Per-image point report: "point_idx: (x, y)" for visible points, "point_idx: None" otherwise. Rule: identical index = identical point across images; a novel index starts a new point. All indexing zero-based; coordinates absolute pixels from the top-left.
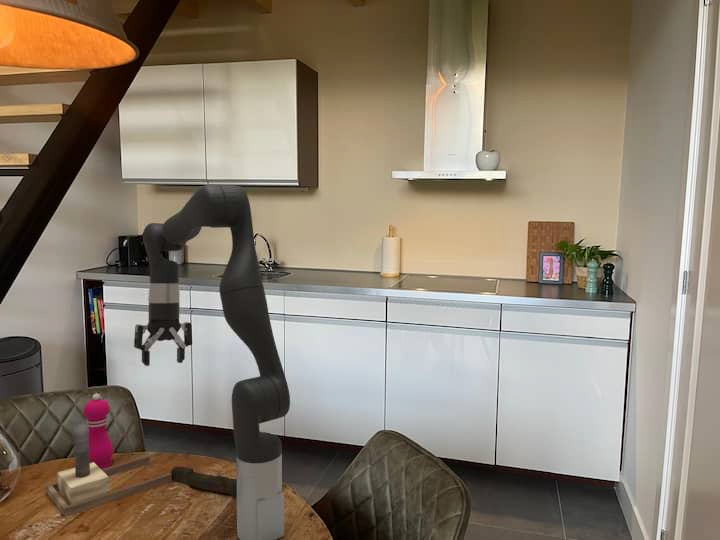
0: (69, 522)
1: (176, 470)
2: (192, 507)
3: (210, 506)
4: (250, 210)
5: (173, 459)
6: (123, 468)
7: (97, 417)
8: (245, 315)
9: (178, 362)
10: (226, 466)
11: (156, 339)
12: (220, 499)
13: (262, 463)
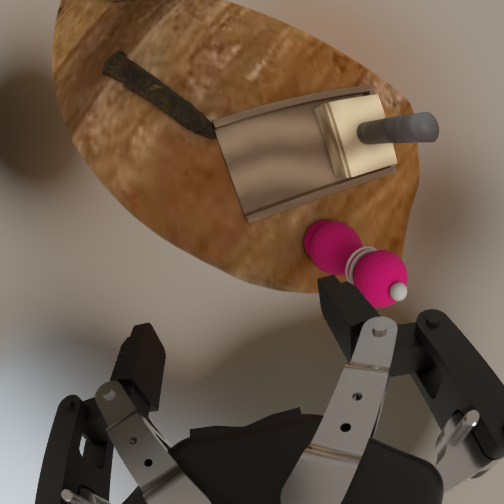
0: (357, 85)
1: (203, 116)
2: (190, 47)
3: (164, 43)
4: None
5: (199, 235)
6: (292, 198)
7: (377, 250)
8: None
9: (157, 337)
10: (110, 172)
11: (338, 397)
12: (144, 58)
13: None
